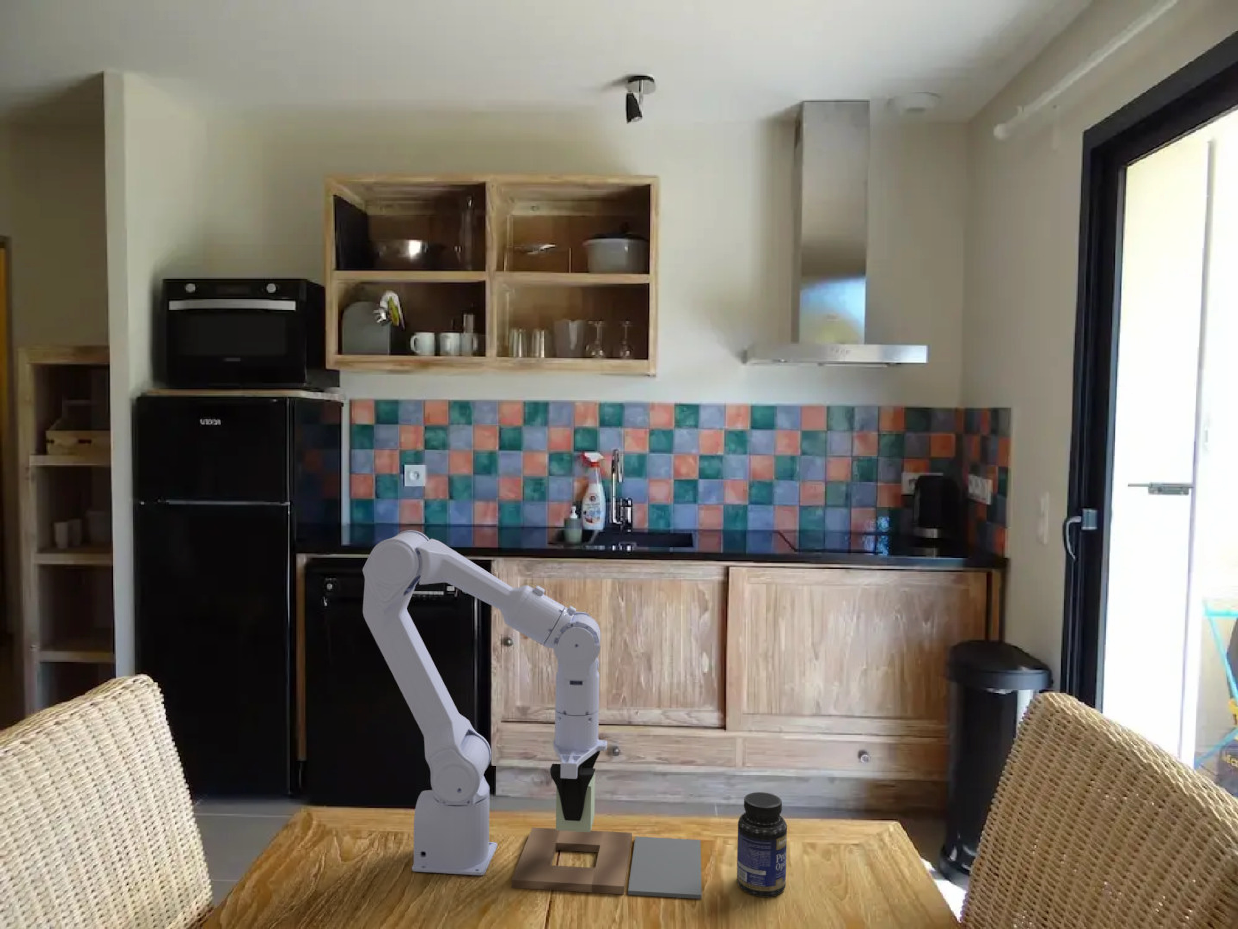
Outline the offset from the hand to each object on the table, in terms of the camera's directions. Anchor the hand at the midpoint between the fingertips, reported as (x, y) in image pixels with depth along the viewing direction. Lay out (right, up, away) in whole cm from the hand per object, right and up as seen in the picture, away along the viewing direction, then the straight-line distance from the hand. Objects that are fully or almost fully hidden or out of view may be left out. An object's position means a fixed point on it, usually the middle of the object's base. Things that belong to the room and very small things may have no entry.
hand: (575, 810), depth 114 cm
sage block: (0, -2, 0) cm, 2 cm away
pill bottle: (+24, -8, -5) cm, 25 cm away
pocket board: (0, -7, 0) cm, 7 cm away
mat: (+12, -7, -1) cm, 14 cm away
